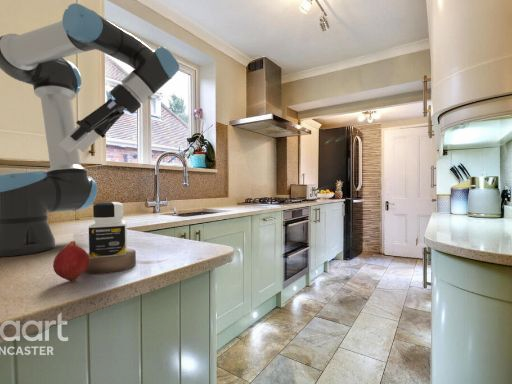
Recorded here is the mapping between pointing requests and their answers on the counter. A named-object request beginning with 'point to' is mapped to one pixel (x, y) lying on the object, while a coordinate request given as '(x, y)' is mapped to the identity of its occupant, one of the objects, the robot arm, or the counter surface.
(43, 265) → the counter surface
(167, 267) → the counter surface
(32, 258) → the counter surface
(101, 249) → the medicine bottle
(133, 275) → the counter surface
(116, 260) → the walnut stand
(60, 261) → the onion
